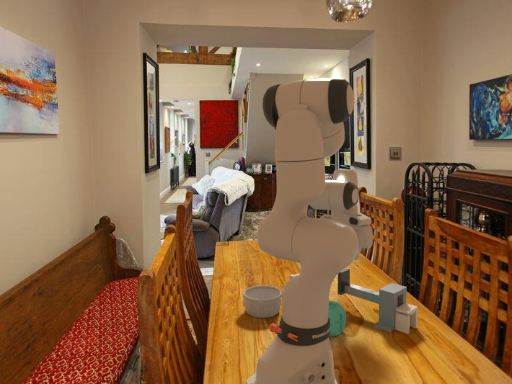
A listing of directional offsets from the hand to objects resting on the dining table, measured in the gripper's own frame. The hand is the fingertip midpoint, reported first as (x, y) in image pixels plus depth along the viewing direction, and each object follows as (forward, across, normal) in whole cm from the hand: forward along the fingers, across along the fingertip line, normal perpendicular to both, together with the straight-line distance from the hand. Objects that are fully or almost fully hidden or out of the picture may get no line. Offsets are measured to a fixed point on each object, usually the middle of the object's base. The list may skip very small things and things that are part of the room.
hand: (343, 256), depth 130 cm
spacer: (+18, +22, +1) cm, 29 cm away
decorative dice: (+19, +7, -17) cm, 26 cm away
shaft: (+13, +9, +1) cm, 16 cm away
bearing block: (+18, +18, +1) cm, 25 cm away
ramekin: (+19, -17, -22) cm, 34 cm away
